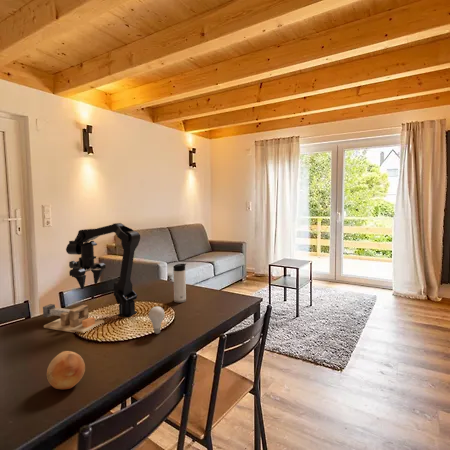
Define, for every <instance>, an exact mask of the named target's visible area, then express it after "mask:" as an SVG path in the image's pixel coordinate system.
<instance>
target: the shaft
mask: <svg viewBox="0 0 450 450" xmlns="http://www.w3.org/2000/svg"><path fill="white" fill-rule="evenodd" d="M71 309H72V308H70V309H69V308H62V307H56V304H54V303H50V304H47V305H44V306H42V317H43V318H50V317H52V316H56V317H57V316H58V317H60V314H61V313H64V312H67V313H69V311H70V310H71ZM78 315H79V317H80V316H81V315H80V312H78ZM69 317H70V313H69Z"/></svg>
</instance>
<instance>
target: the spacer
mask: <svg viewBox="0 0 450 450" xmlns="http://www.w3.org/2000/svg"><path fill="white" fill-rule="evenodd" d="M95 319H96V317H92V316H90V317H89V316H88V318H87V319H85V320H83V321H82V327H89V326H91V325H93V324H95Z"/></svg>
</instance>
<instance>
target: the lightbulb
mask: <svg viewBox="0 0 450 450" xmlns="http://www.w3.org/2000/svg"><path fill="white" fill-rule="evenodd" d="M164 317H165V310H164V308H163V307H161V306H157V305H156V306H154V307H151V309H149V312H148V318H149V320H150V322H151V323H152V328H153V333H154V334H156V335H158V334H160V333H161V328H162V321H163V320H164Z"/></svg>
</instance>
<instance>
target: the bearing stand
mask: <svg viewBox="0 0 450 450" xmlns="http://www.w3.org/2000/svg"><path fill="white" fill-rule="evenodd" d="M70 309H71V310H70V311H69V313H70V317H69V313H67V312H64V313H61V314H60V316H59V317H60V318H58V319H55V320H53V321H51V322H48V323H46V324H44V325H43V328H44V329H50V330H56V331H63V332H68V333H75V332H81V333H85V332H86V331H88V332H90V331H91V330H90V329H92V330H94V329H95V328H94V327H96V326H98V325H99V326H101V325H103V324H105V320H102V319H96V318H95V324H93V325H91V326H89V327H82V321H83V320H85V319H87V318H89V306H88V304H82V305H79V306H77V307H73V308H70ZM78 312H80V315H81V316H80V317H79V315H78ZM102 323H103V324H102ZM100 324H101V325H100ZM99 326H98V327H99ZM93 328H94V329H93ZM96 328H97V327H96ZM89 330H90V331H89ZM81 333H80V334H81ZM86 333H87V332H86ZM86 333H85V334H86ZM75 334H76V333H75Z"/></svg>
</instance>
